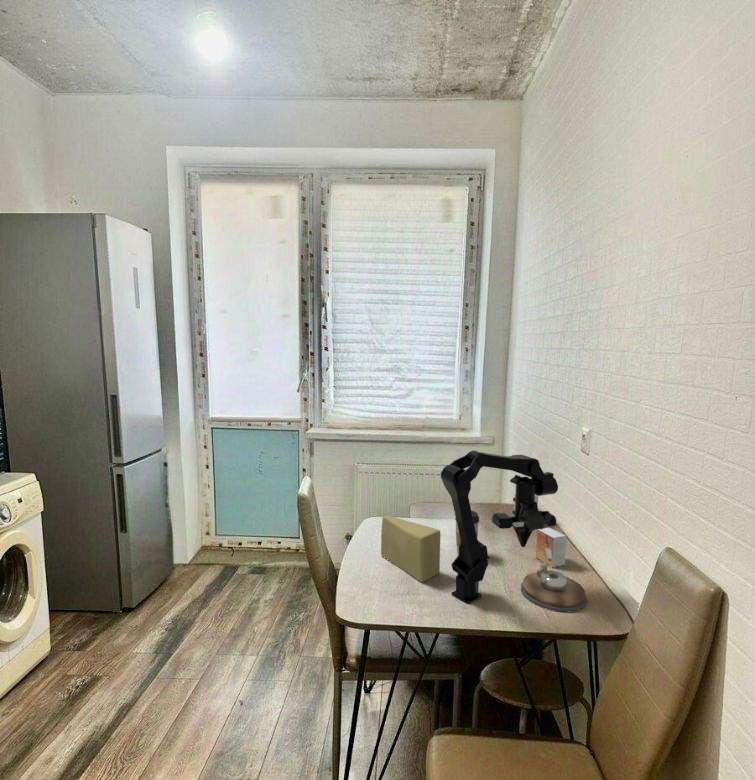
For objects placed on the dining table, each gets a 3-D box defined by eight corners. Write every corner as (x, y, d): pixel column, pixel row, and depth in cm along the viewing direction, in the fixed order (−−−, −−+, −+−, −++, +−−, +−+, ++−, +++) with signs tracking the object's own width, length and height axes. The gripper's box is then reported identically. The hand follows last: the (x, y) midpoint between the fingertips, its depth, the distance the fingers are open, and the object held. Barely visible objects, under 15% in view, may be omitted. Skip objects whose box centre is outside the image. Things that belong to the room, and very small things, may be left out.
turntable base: (566, 619, 119) (566, 616, 119) (506, 590, 133) (506, 586, 133) (597, 597, 130) (598, 594, 130) (539, 572, 145) (539, 569, 144)
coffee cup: (476, 561, 152) (478, 519, 151) (452, 557, 154) (453, 515, 153) (479, 551, 160) (480, 511, 158) (456, 548, 162) (457, 508, 161)
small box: (535, 558, 155) (536, 528, 154) (547, 555, 157) (549, 526, 156) (552, 568, 148) (553, 537, 147) (565, 565, 150) (566, 535, 149)
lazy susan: (533, 606, 123) (534, 589, 122) (515, 576, 140) (516, 560, 139) (595, 607, 123) (596, 590, 122) (569, 577, 140) (570, 561, 139)
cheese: (371, 560, 152) (372, 517, 151) (391, 551, 159) (392, 510, 158) (421, 584, 136) (422, 536, 135) (440, 573, 143) (442, 528, 142)
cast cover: (545, 592, 128) (546, 581, 127) (537, 579, 135) (537, 570, 134) (570, 592, 127) (570, 582, 127) (560, 580, 134) (560, 570, 134)
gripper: (509, 507, 126) (507, 560, 127) (568, 504, 129) (565, 556, 130) (492, 495, 137) (490, 544, 138) (547, 492, 140) (544, 540, 141)
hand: (522, 546), depth 137 cm, fingers closed
